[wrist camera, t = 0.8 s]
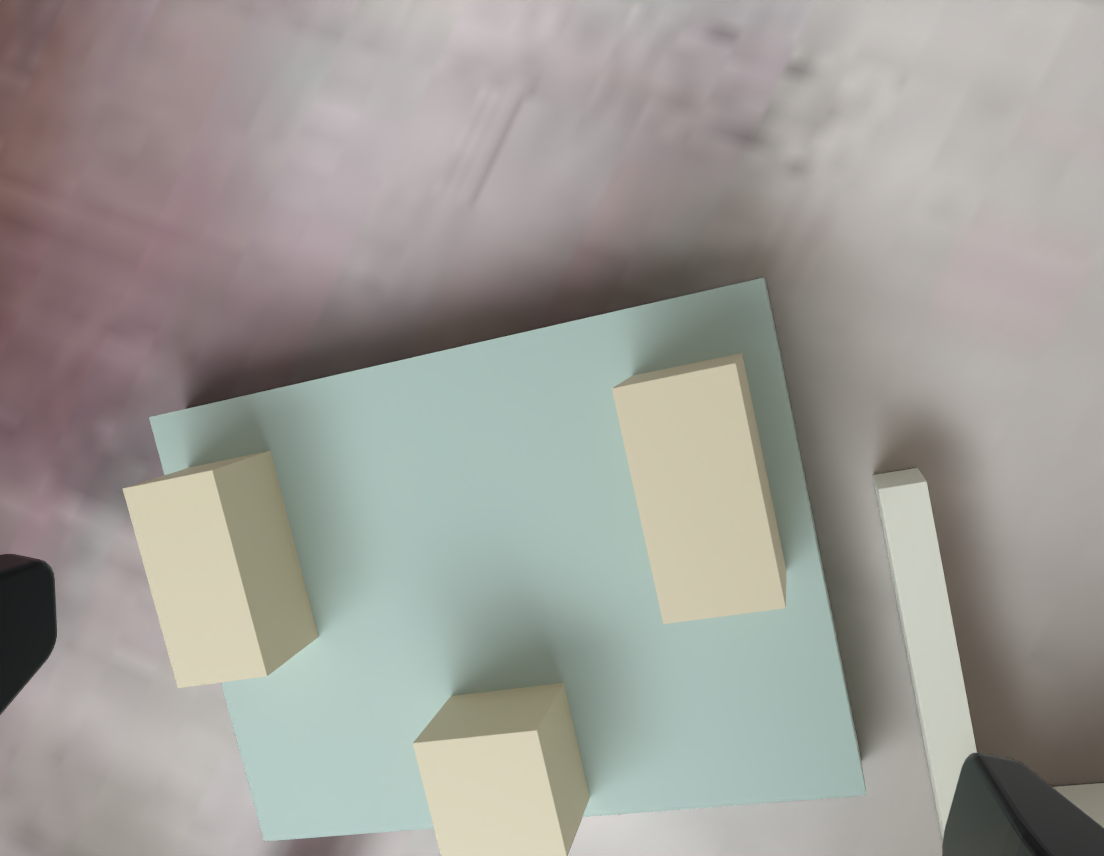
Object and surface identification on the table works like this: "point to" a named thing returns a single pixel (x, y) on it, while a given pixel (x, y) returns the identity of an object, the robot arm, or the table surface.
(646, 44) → the table surface
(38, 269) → the table surface
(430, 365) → the display stand
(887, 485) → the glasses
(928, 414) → the table surface
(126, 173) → the table surface
